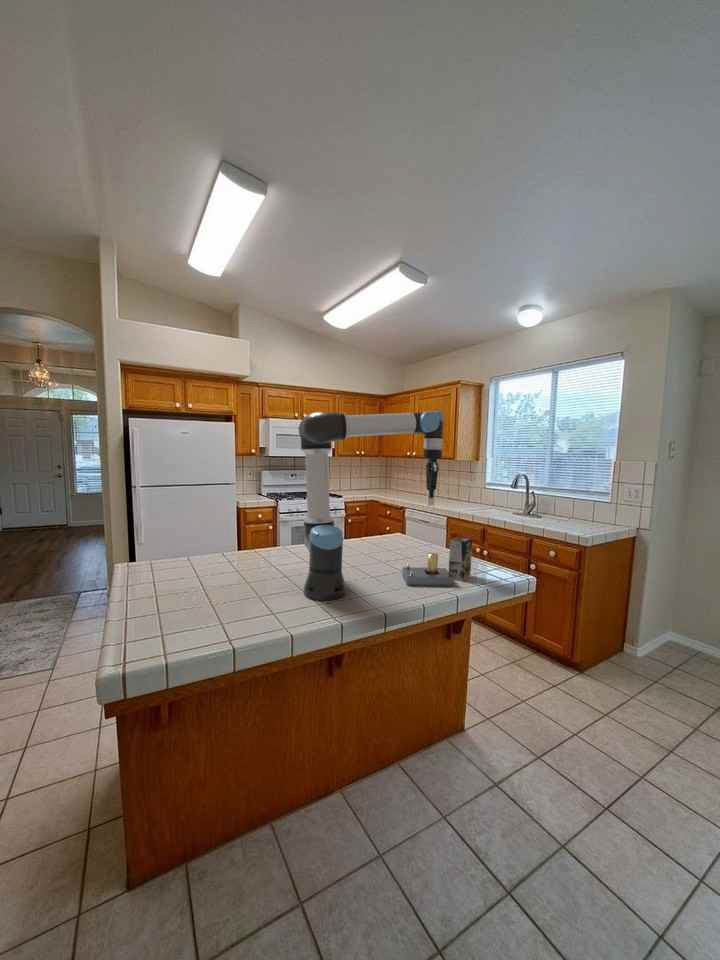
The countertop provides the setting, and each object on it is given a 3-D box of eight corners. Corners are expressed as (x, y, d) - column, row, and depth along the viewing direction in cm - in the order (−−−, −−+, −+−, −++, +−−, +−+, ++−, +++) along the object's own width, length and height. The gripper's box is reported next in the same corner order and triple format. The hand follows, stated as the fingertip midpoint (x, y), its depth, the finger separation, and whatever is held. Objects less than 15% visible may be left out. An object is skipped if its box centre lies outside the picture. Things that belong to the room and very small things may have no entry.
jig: (406, 585, 149) (407, 572, 149) (402, 575, 161) (402, 563, 161) (452, 586, 150) (453, 573, 150) (445, 576, 162) (445, 564, 162)
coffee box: (462, 581, 156) (464, 542, 155) (447, 578, 160) (449, 539, 159) (471, 576, 163) (473, 538, 162) (456, 572, 167) (458, 536, 166)
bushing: (437, 582, 154) (438, 555, 153) (427, 582, 154) (428, 555, 153) (435, 579, 158) (436, 552, 157) (425, 579, 158) (426, 552, 157)
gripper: (445, 449, 154) (443, 508, 156) (438, 449, 167) (435, 503, 169) (427, 448, 154) (424, 507, 155) (420, 448, 167) (418, 503, 168)
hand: (430, 505), depth 162 cm, fingers closed
